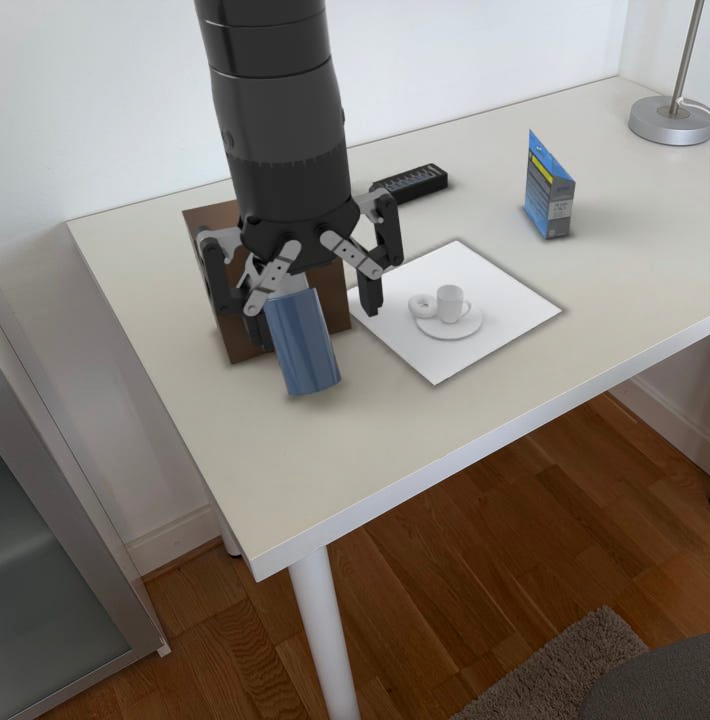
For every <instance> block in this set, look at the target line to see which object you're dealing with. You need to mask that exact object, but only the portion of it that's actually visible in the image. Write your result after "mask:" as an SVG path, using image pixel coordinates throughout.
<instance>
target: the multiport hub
mask: <svg viewBox="0 0 710 720" xmlns="http://www.w3.org/2000/svg"><path fill="white" fill-rule="evenodd" d="M375 183H380V184H382V185H383V187H384V188H385V189H386V190H387V191H388V192H389V193H390V194H391V195H392V197H393V198H394V199H395V200H396V201H397V206H400V205H403V204H406V203H408V202H411V201H414V200H417V199H420V198H422V197H426V196H428V195H430V194H434V193H436V192H439V191H443V190H445V189H447V188H448V187H449V173H448V172H447V171H446V170H444V169H442V168H441V167H439V166H438V165H437V164H435V163H432V162H430V163H427V164H423V165H420V166H417V167H415V168H412V169H409V170H406V171H403V172H400V173H397V174H394V175H390V176H388V177H385V178H381V179H379V180H376V181H373V182H372V185H373V184H375Z"/></svg>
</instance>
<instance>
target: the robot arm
mask: <svg viewBox="0 0 710 720" xmlns="http://www.w3.org/2000/svg"><path fill="white" fill-rule="evenodd" d="M193 5H194V11H195V13H196V17H197V21H198V26H199V30H200V34H201V38H202V43H203V47H204V51H205V54H206V59H207V65H208V68H209V69H208V70H209V77H210V88H211V97H212V102H213V107H214V111H215V116H216V120H217V125H218V128H219V133H220V137H221V140H222V144H223V148H224V153H225V157H226V162H227V165H228V169H229V173H230V177H231V180H232V181H231V183H232V186H233V190H234V194H235V199H237V202H238V207H239V213H240V214H239V220H238V223H237V226H236V227H231V228H226V229H221V230H215V231H213V230H212V229H211V228H210V227H209V226H206V225H202V226H199V227H197V228H196V229H195V231H194V236H195V240H196V245H197V249H198V254H199V258H200V263H201V267H202V271H203V276H204V280H205V285H206V289H207V292H206V294H207V293H208V296H209V298H210V299H211V301H212V303H213V305H214V309H215V312H216V314H217V315H218V316H220V317H227V316H229V315H231V314H232V313H240V314H242V316H243V320H244V323H245V327H246V331H247V333H248V335H249V337H250V340H251V342H252V343H253V344H254V345H255V346H256V347H257V346H260V345H262V347H263V349H264V351H267V350H270V349H273V348H274V347H273V343H272V339H271V335H270V331H269V326H268V322H267V318H266V314H265V312H264V310H263V308H262V307H263V305H264V303H265V301H266V299H267V298H268V296H269V294H270V293H274V292H275V291H276V289H277V287H278V286H279V284H280V282H281V280H282V278H283V277H284V275H285V273H289V274H290V275H291V276H293V275H297V274H300V273H303V272H305V271H307V270H308V269H310V268H319V267H325V266H329V265H333V264H332V261H333V260H335V259H336V258H337V257H338V256H339V257H340V258H342V259H343V262H346V263H347V264H348V265H349V266H351V267H352V268H354V269H355V271H356V281H357V286H358V290H359V298H360V303H361V306H362V308H363V309H364V311H365V312H366V314H367V315H368V317H369V318H370V317H373V316H376V315H378V308H380V307H382V305H383V302H384V299H383V288H382V274H384V272H385V271H386V270H387V269H388V268H389V267H395V268H397V267H400V266H402V265H403V263H404V261H405V253H404V245H403V237H402V230H401V223H400V216H399V215H400V214H399V207H398V206H399V205H398V206H397V201H396V200H395V199H394V198H393V197H392V195H391V194H390V193H389V192H388V191H387V190H386V189H385V188H384V187H383V185H382V184H380V183H375V184H373V183H372V185H370V187H369V189H368V193H363V194H361V195H358V196H355V197H354V196H353V194H352V183H351V176H350V175H351V174H350V167H349V158H348V148H347V139H346V131H345V122H346V115H345V110H344V107H343V105H342V96H341V91H340V90H341V89H340V85H339V81H338V78H337V77H338V76H337V74H336V71H335V66H334V61H333V56H332V54H333V53H332V52H331V51H332V47H331V39H330V38H331V37H330V31H329V23H328V13H327V6H326V0H193ZM361 215H365V217H366V218H367V219H368V221H370V223H372V224H373V229H374V235H375V241H376V246H375V247H373V248H371V249H370V250H368V249H367V248H366V247H364V246H363V245H362V244H360V243H359V242H358V241H357V240H356V239H355V238H354V237H353V236H352V234H353V232H354V230H355V228H356V227H357V225H358V223H359V221H360V219H361ZM240 245H243V246H244V247H245V248H246V249H247V250H249V251H250V252H251V253H250V255H249V257H248V259H247V261H246V264H245V272H244V274H243V275H242V277H241V279H240V281H239V283H238V285H237V287H236V288H229V283H228V278H227V273H226V268H225V264H229V263H230V262H231V260H232V259H233V257H234V250H235V249H236V248H237V247H238V246H240ZM267 264H268V265H267ZM206 289H205V290H206ZM208 296H207V297H208Z"/></svg>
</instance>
